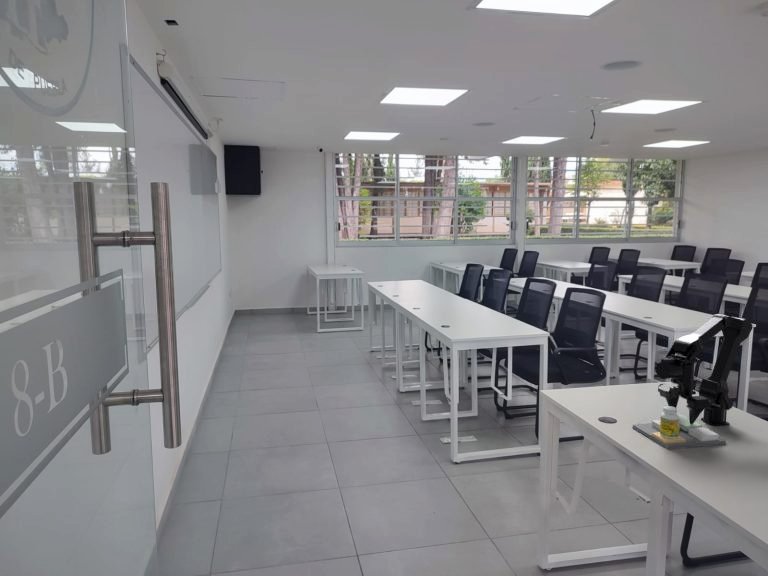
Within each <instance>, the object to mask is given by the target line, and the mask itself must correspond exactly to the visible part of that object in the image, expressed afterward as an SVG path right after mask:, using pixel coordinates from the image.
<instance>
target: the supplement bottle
mask: <svg viewBox="0 0 768 576" xmlns="http://www.w3.org/2000/svg"><path fill="white" fill-rule="evenodd" d="M662 408H663V409H662V411H663V412H662V413H661V414H660V420H661V422H660V435H661V436H662V437H665V438H668V439H676V438H678V435H679V416H678V415H677V414H676V413H678V408H677V407H676V408H675V407H672V406H668V405H665V406H663V407H662Z"/></svg>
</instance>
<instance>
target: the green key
mask: <svg viewBox="0 0 768 576" xmlns="http://www.w3.org/2000/svg"><path fill="white" fill-rule="evenodd" d="M676 414H677V415H678V416H679V426H680V429H682V430H684V431H686V432H687V431H689V429H693V428H703V425H702V424H700V423H699V422H697V421H695V422H694V423H693V424H690V421H689V417H688V416H685V415H682V414H681V413H678V412H677V413H676Z"/></svg>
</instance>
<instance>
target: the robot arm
mask: <svg viewBox="0 0 768 576" xmlns="http://www.w3.org/2000/svg"><path fill="white" fill-rule="evenodd" d="M753 327H754V326H753V324H752V321H751V320H750V319H749V318H744V317H737V316H733V315H730V316H729V315H728V314H727V315H726V314H721V313H717V314H713V315H712V317H711V318H710V319H709V320H708V321H707V322H705V323H703V324H702V325H701V326H700V327H699V328H698V329H696V330H695V331H694V332H691V333H690V334H686V335H683V336H681V337H678V338H676V339H675V340H674V342H673V343H672V345H671V347H670V348H669V351H668V352H667V354H666V356H665V358H661V359H660V362H658V363H657V365H656V366H655V373H656V375H657V377H659V379H662V380H668V379H670V381H669V382H666V383H660V384H659V385H658V386H657V392H658V393H659V396H660V397H663V398H664V399H665V400H666V403H667V406H672V407H675V408H677V406H678V403H679V399H680V398H682V399H684V400H686V406H685V407H686V408H688V410H689V411H688V412H689V416H688V418H689V421H690V424H693V423H694V422H697V421H696V420H697V419H698V417H699V416H700V415H701V413H702V412H703V417H701V418H700V420H702V421H704V422H705V423H707V424H709V425H712V426H714V427H715V426H726V425H730V422H728V421H727V415H728V414H727V413H728V411H730V409H731V410H732V408H733V405H734V402H733V401H732V399H731V398H730V397H729V386H728V383H727V380H728V378H729V375H730V373H731V370H732V367H733V364H734V361H735V358H736V356H737V354H738V350H739V347H740V345H741V344H742V343H743V342H744V341H746V340H747V339H748V338H749V336H750V335H751V332H752V330H753ZM720 332H721V333H722V336H723V340H722V344H721V346H720V349H719V351H718V355H717V357H716V360H715V363H714V366H713V369H712V372H711V374H710V376H709V377H707V378H703V379H701V382H700V385H699V387H698V395H696V394H697V391H695V390H694V384H696V383H697V381H698V380H697V379H695V364H698V363H700V360H699V359H698V358H697V356H699V355H700V353H701V352H702V351H703V348H704V345H705V344H706V343H707V342H709V341H710V340H711V339H712V338H714V337H715V336H716V335H717V334H719V333H720Z"/></svg>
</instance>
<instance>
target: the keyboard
mask: <svg viewBox="0 0 768 576" xmlns="http://www.w3.org/2000/svg"><path fill="white" fill-rule="evenodd" d="M660 422H661V419H655V420H653V419H652V420H651V422H650V423H649V422H648V423H635V424H632V429H634V430H635V431H637V432H639V433H640V434H641V435H644V436H645V437H647V438H648V439H650V440H652V441H653V442H655V443H657V444H659V446H662V447H663V448H665V449H666V450H674V449H677V450H678V449H688V448H698V447H707V446H718V445H726V444H727V440H726V439H724V438H722V437H720V435H719V434H718V433H716V432H714V431H713V430H711V429H709V428H707V427H702V428H693V429H689V431H687V432H686V431H684V430H682V429H680V426H679V435H678V438H676V439H668V438H665V437H662V436H661V435H660Z"/></svg>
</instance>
